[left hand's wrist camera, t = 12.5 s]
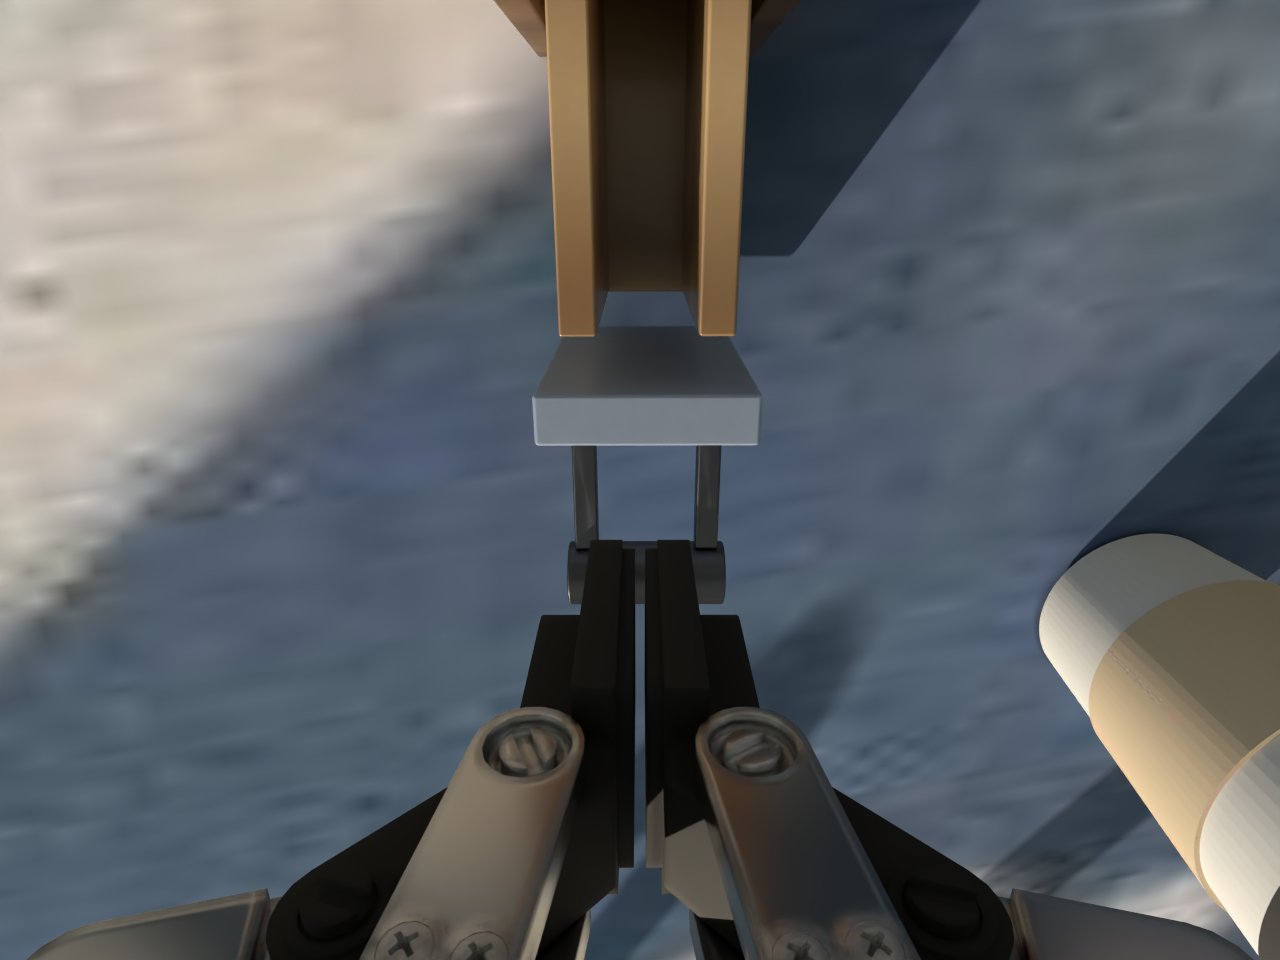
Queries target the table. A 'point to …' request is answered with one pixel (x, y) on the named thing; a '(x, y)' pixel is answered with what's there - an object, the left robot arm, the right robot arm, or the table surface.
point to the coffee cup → (1185, 704)
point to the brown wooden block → (528, 16)
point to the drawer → (647, 248)
